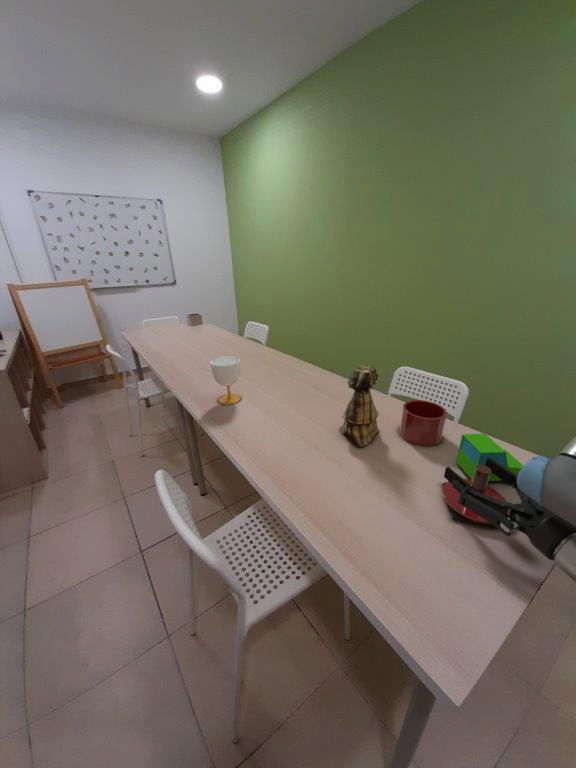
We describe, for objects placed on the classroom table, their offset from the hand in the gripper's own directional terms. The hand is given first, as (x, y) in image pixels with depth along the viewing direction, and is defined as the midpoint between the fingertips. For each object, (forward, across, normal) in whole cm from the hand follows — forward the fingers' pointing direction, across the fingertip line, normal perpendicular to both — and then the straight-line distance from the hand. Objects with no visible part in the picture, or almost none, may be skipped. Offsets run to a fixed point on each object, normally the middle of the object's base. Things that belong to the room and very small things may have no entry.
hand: (466, 466), depth 71 cm
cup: (+71, -50, -8) cm, 87 cm away
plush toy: (+32, -12, -8) cm, 35 cm away
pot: (+25, +8, -8) cm, 27 cm away
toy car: (+4, +12, -8) cm, 16 cm away
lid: (-4, 0, -6) cm, 8 cm away
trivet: (-4, 0, -8) cm, 9 cm away
